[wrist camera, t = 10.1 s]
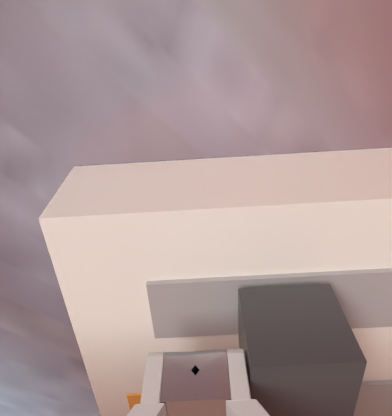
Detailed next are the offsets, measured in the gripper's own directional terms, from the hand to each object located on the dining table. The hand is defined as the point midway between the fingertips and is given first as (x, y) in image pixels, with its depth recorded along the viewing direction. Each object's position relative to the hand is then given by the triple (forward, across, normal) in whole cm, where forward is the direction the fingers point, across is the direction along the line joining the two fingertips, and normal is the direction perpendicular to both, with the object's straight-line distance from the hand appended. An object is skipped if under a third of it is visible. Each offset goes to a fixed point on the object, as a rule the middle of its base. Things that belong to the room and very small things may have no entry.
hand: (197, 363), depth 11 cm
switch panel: (+6, -3, +6) cm, 9 cm away
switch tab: (+2, -3, 0) cm, 3 cm away
